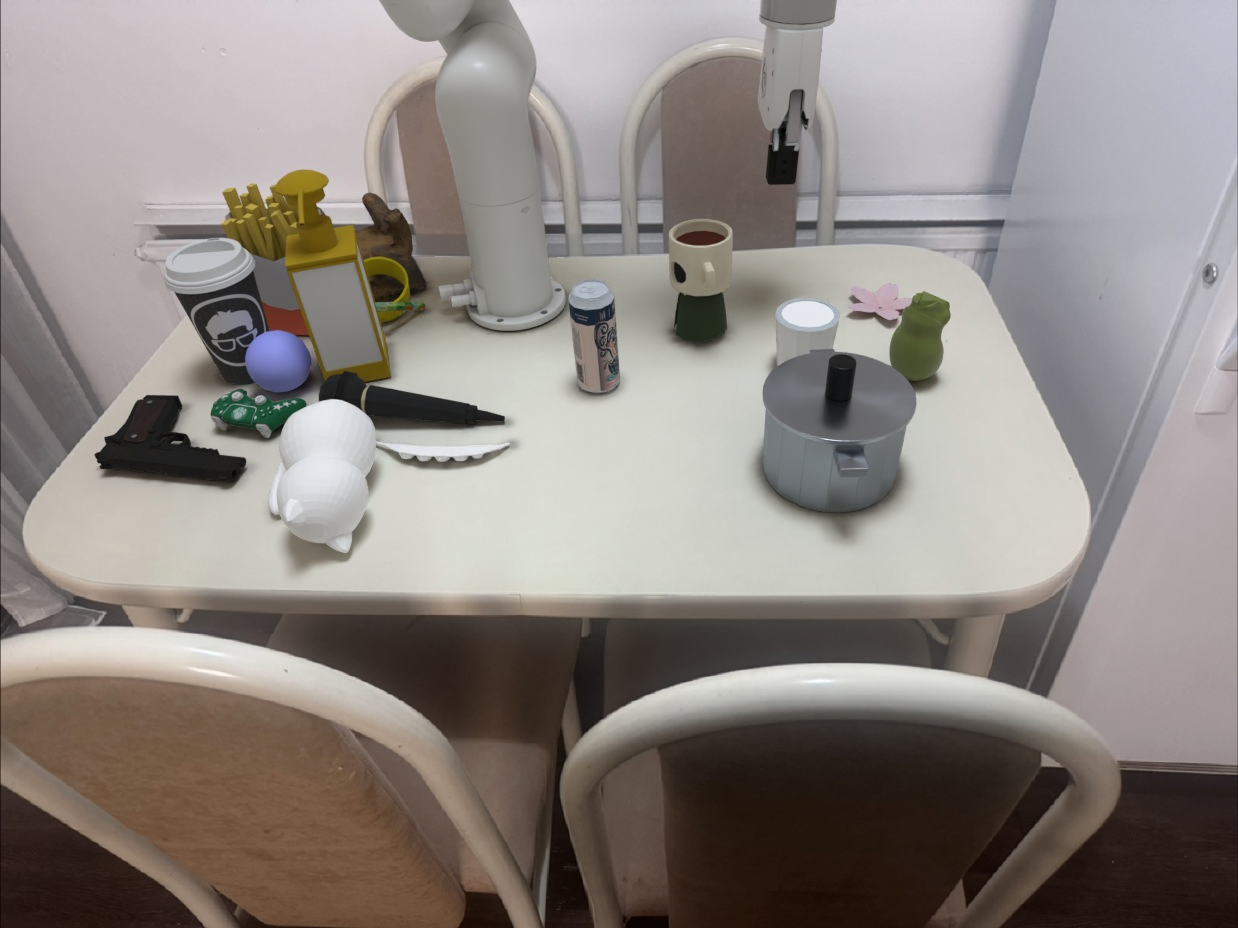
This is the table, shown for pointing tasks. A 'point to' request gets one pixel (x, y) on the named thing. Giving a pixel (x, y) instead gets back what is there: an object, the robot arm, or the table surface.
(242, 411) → the gaming controller
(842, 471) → the pot
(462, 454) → the pea pod
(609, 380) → the beer can
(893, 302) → the flower
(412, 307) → the pencil
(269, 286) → the french fries container
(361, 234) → the figurine
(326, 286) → the soap bottle
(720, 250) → the character mug
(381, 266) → the bracelet
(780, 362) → the white short cylinder
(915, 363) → the pear
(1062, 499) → the table surface
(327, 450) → the cat figurine
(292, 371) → the sphere
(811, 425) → the pot lid
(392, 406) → the microphone
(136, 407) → the pistol
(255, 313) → the coffee cup
